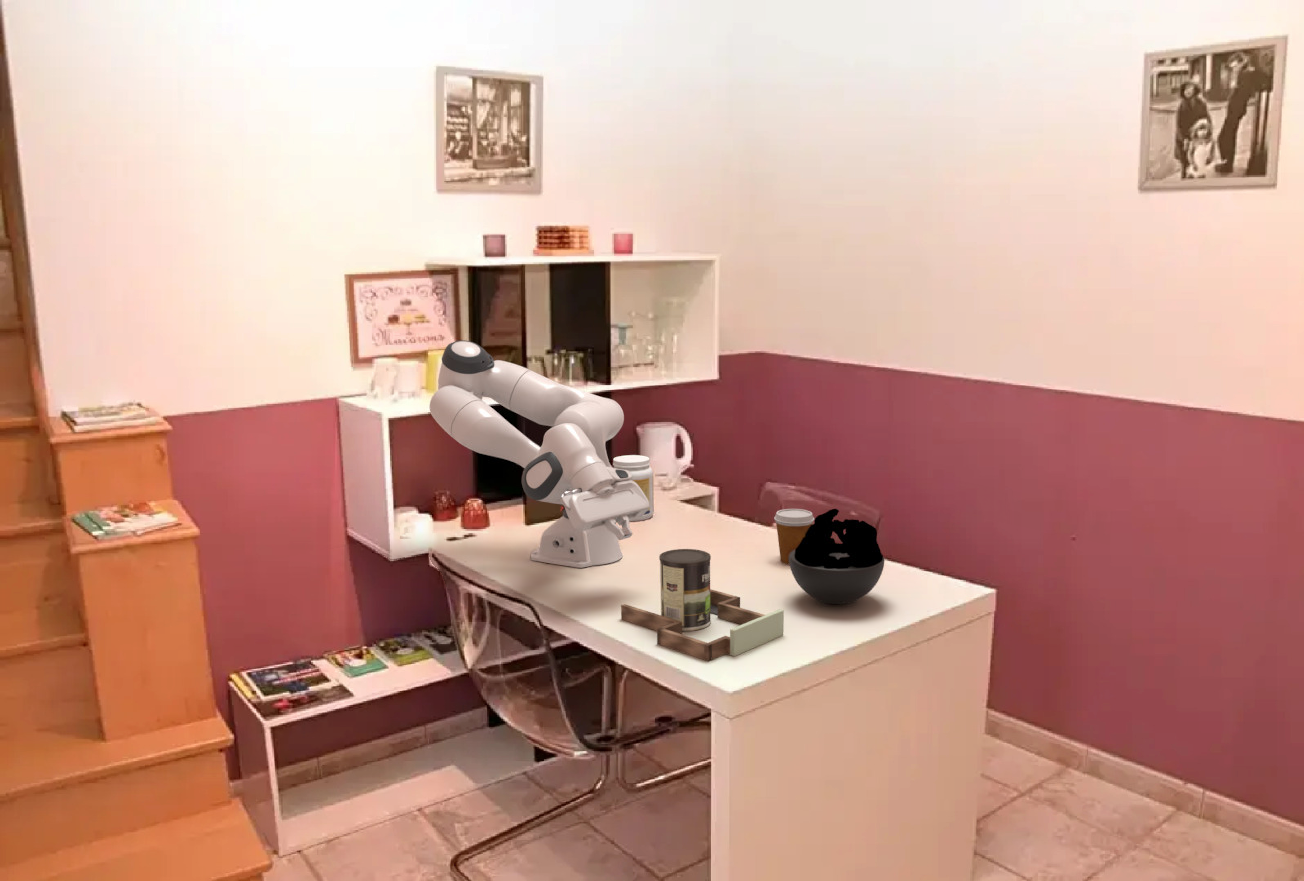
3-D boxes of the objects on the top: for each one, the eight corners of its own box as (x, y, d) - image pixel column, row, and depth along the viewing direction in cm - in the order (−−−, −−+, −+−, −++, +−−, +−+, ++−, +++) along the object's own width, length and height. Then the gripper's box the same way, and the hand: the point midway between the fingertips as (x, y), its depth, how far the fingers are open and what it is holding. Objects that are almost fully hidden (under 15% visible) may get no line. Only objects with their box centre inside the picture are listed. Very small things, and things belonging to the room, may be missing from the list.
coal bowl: (866, 623, 211) (868, 532, 208) (773, 608, 221) (774, 521, 218) (895, 595, 229) (897, 510, 225) (808, 582, 238) (809, 501, 235)
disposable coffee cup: (793, 569, 248) (793, 520, 246) (765, 560, 255) (766, 512, 253) (822, 562, 253) (822, 513, 251) (794, 553, 261) (795, 506, 259)
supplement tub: (622, 510, 307) (620, 452, 304) (660, 513, 303) (659, 455, 300) (604, 520, 296) (602, 460, 293) (643, 523, 291) (642, 463, 288)
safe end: (730, 655, 196) (730, 629, 195) (779, 633, 206) (779, 609, 206) (734, 656, 195) (734, 630, 194) (783, 634, 206) (783, 610, 205)
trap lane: (603, 625, 212) (603, 611, 212) (686, 595, 230) (686, 582, 229) (712, 662, 192) (712, 647, 192) (794, 627, 210) (794, 612, 209)
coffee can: (713, 614, 218) (713, 549, 215) (708, 632, 208) (707, 563, 205) (664, 613, 219) (663, 547, 217) (656, 630, 209) (655, 561, 207)
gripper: (564, 484, 218) (596, 538, 213) (634, 469, 232) (666, 520, 227) (550, 502, 222) (582, 555, 217) (620, 486, 236) (652, 536, 231)
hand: (626, 537), depth 222 cm, fingers closed
